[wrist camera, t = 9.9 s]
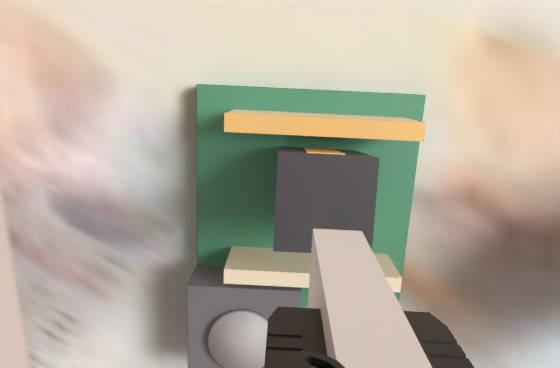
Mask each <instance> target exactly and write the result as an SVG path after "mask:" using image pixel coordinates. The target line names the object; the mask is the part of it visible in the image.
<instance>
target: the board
mask: <svg viewBox="0 0 560 368" xmlns="http://www.w3.org/2000/svg"><path fill="white" fill-rule="evenodd" d="M425 96H426V95H415V94H394V93H373V92H352V91H331V90H310V89H289V88H268V87H247V86H226V85H204V84H197V267H196V269H195V271H194V273H193V275H192V277H191V279H190V281H189V283H188V285H187V329H188V368H264V364H265V351H266V339H267V327H268V318H269V317H270V316H271V315H272V313H273V312H274V311H275V310H276V308H277V307H298V308H307V306H308V291H309V277H310V263H311V253H298V252H279V251H273V243H274V222H275V201H276V180H277V160H278V151H279V148H280V146H282V147H302V148H303V147H305V148H325V149H343V150H355V151H358V152H362V153H365V154H368V155H372V156H375V157H378V158H380V160H379V172H378V184H377V196H376V208H375V220H374V232H373V244H372V252H373V254H374V255H375V257H376V259H377V261H378V263H379V265H380V267H381V269H382V271H383V273H384V275H385V277H386V279H387V281H388V283H389V285H390V287H391V289H392V290H393V292H394V294H395V296H396V298H397V300H398V302H399V295H400V290H401V282H402V272H403V265H404V257H405V249H406V242H407V234H408V226H409V219H410V211H411V203H412V196H413V188H414V180H415V173H416V165H417V157H418V150H419V142H420V141H423V142H424V136H425V128H426V123H425V122H422V119H423V111H424V104H425Z"/></svg>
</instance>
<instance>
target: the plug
mask: <svg viewBox="0 0 560 368" xmlns="http://www.w3.org/2000/svg"><path fill="white" fill-rule="evenodd" d="M379 160H380V158H378V157H375V156H372V155H368V154H365V153H362V152H358V151H355V150H343V149H325V148H305V147H303V148H302V147H282V146H280V148H279V151H278V160H277V180H276V201H275V222H274V243H273V251H279V252H298V253H311V248H312V234H313V229H332V230H352V231H362V232H363V234H364V236H365V238H366V240H367V242H368V244H369V246H370V248H371V250H372V244H373V232H374V220H375V208H376V196H377V184H378V172H379Z"/></svg>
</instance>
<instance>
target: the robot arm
mask: <svg viewBox="0 0 560 368" xmlns="http://www.w3.org/2000/svg"><path fill="white" fill-rule="evenodd" d="M264 368H474V367H473V365H472V364H471V362H470V361H469V359H466V355H465V353H464V352H463V350H462V349H461V347H460V346H459V345H457V341H456V340H455V338H454V337H453V335H452V334H451V332H450V331H449V329H448V327H447V326H446V325H445V324H443V323H442V322H441V321H439V320H438V319H437V318H435V317H434V316H433V315H432V314H430V313H427V312H408V311H403V310H402V308H401V306H400V304H399V302H398V300H397V298H396V296H395V294H394V292H393V290H392V289H391V287H390V285H389V283H388V281H387V279H386V277H385V275H384V273H383V271H382V269H381V267H380V265H379V263H378V261H377V259H376V257H375V255H374V254H373V252H372V250H371V248H370V246H369V244H368V242H367V240H366V238H365V236H364V234H363V232H362V231H352V230H332V229H313V234H312V248H311V263H310V277H309V291H308V306H307V308H298V307H277V308H276V310H275V311H274V312H273V313H272V315H271V316H270V317H269V318H268V327H267V339H266V351H265V364H264Z"/></svg>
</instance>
